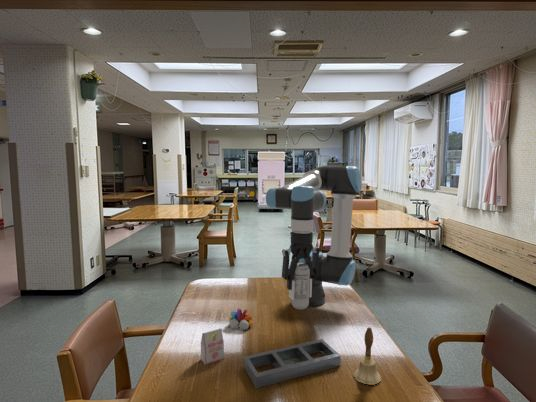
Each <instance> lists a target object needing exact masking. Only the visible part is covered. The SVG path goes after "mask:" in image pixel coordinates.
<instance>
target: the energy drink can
mask: <svg viewBox="0 0 536 402" xmlns="http://www.w3.org/2000/svg"><path fill="white" fill-rule="evenodd" d="M309 279H310V269H309V267H308V264H306V263H303V262H298V264H297V267H296V270H295V273H294V277H293V280H294V281H295V290H294V300H292V299H291V300H290V301H291V304H290V305H292V307H293V308H294V309H296V310H305V309H307V308H308V307H309V306H308V305H309Z"/></svg>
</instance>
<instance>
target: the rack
mask: <svg viewBox="0 0 536 402" xmlns="http://www.w3.org/2000/svg"><path fill="white" fill-rule="evenodd" d="M320 352H321V353H322V354H323V355H324V356H320V357H317V358H313V357H312V356H311V355H312V354H315V353H320ZM341 359H342V358H341V354H340V353H338V352H337V351H336V350H335V349H334V348H333V347H332V346H330V344H329V343H327V342H326V341H325V340H324V339H323V338H320V339H316V340H315V339H314V340H311V341H307V342H303V343H298V344H293V345H289V346H285V347H280V348H275V349H271V350H267V351H263V352H259V353H253V354H250V355H245V356H243V361H242V362H243V369H244V370H245V371H246V374H247V376H248V377H249V378H250V381H251V382H252V384H253V385H254V387H255V388H256V389H259V388H263V387H267V386H271V385H273V384H277V383H281V382H285V381H288V380H291V379H296V378H299V377H303V376H307V375H311V374H314V373H318V372H322V371H326V370H329V369H333V367H334V368H337V366H338V367H341ZM271 364H272V366H273V367H274V368H272V369H268V370H264V371H260V372H258V370H257V369H256V368H258V367H262V366H267V365H271ZM325 369H326V370H325Z"/></svg>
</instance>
